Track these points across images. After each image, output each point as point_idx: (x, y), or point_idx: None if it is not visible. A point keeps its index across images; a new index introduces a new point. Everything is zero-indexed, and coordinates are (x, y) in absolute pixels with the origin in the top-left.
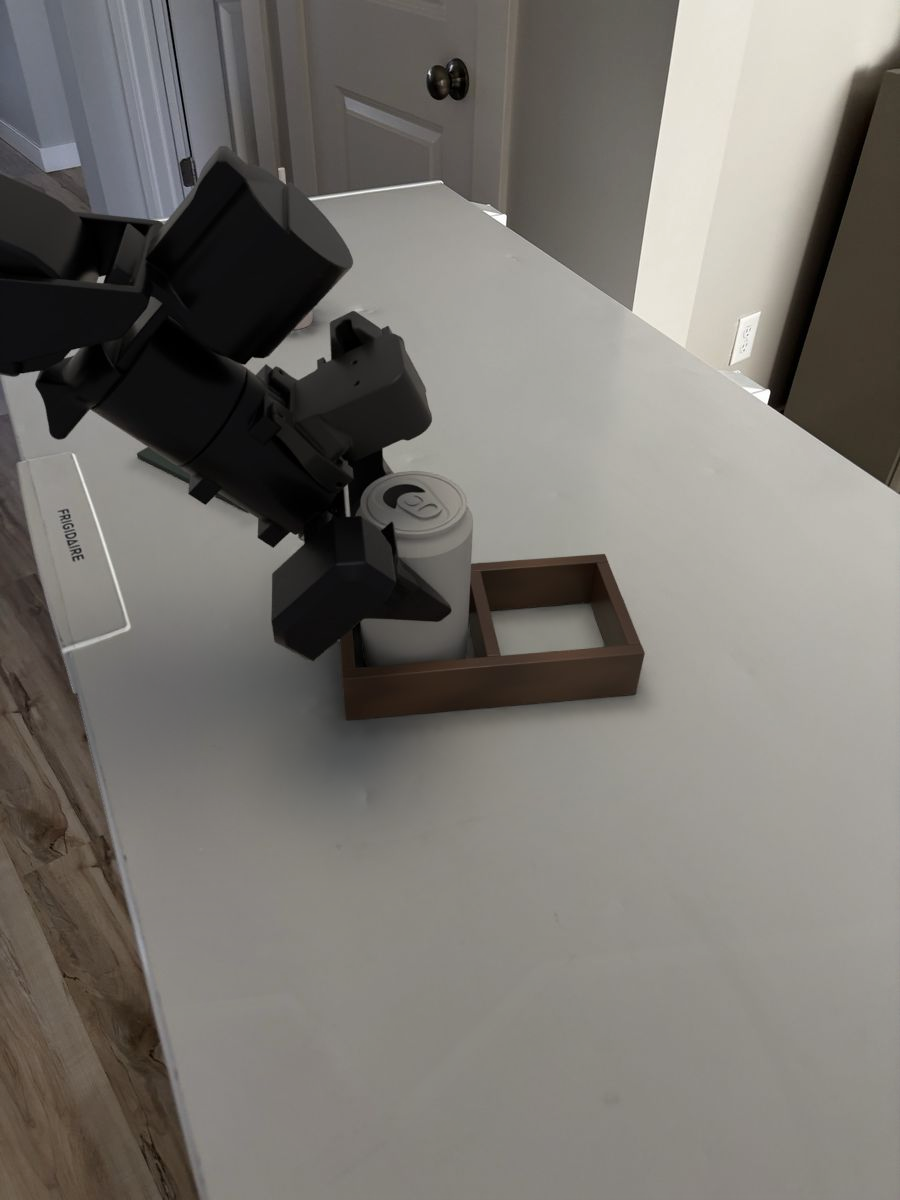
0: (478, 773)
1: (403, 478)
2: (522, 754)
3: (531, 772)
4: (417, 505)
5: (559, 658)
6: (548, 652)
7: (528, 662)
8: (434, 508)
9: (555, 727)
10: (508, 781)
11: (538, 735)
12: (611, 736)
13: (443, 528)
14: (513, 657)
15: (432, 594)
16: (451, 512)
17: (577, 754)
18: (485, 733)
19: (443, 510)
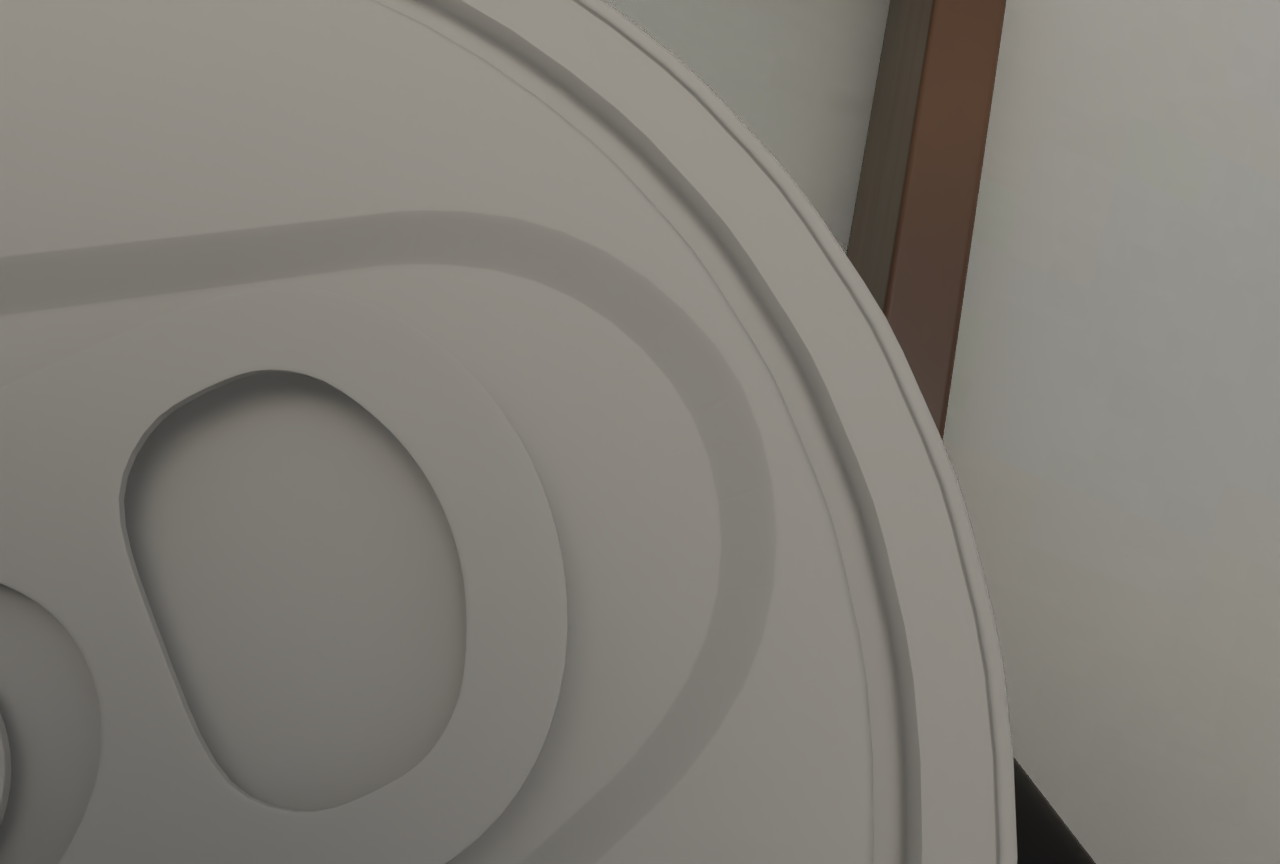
0: (1209, 694)
1: None
2: (1150, 474)
3: (1249, 475)
4: (28, 718)
5: (975, 100)
6: (922, 133)
7: (965, 256)
8: (262, 433)
9: (1042, 288)
10: (1276, 585)
11: (1067, 371)
12: (1139, 104)
13: (948, 480)
14: (906, 315)
15: (1030, 805)
16: (506, 190)
17: (1198, 264)
18: (1001, 584)
19: (379, 299)
